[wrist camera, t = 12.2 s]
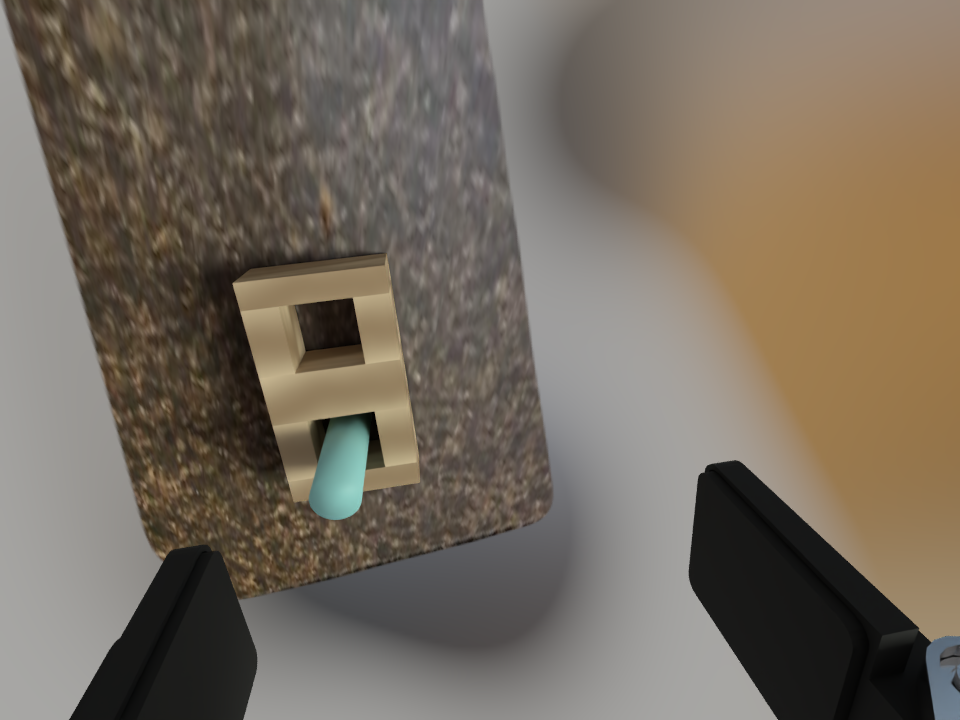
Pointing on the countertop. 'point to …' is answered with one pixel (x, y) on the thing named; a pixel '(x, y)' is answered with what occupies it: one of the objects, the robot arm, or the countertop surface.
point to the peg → (341, 467)
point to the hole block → (330, 366)
